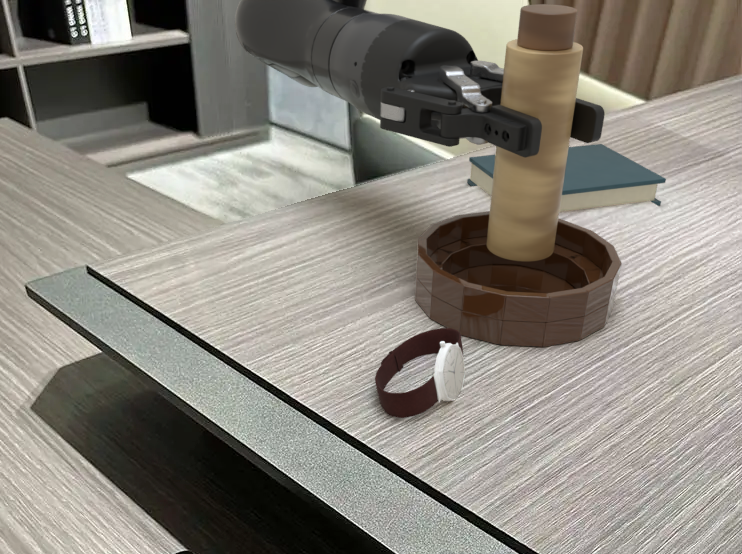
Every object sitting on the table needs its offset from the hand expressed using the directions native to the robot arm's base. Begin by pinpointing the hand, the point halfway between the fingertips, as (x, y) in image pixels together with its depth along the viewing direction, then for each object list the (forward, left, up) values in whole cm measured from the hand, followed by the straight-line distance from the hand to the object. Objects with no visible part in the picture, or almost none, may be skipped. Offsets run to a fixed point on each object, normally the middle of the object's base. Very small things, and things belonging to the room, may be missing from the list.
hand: (567, 132), depth 48 cm
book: (-13, -20, -13) cm, 27 cm away
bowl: (+1, -3, -13) cm, 13 cm away
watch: (+11, +5, -13) cm, 18 cm away
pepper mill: (+1, -3, -9) cm, 9 cm away
